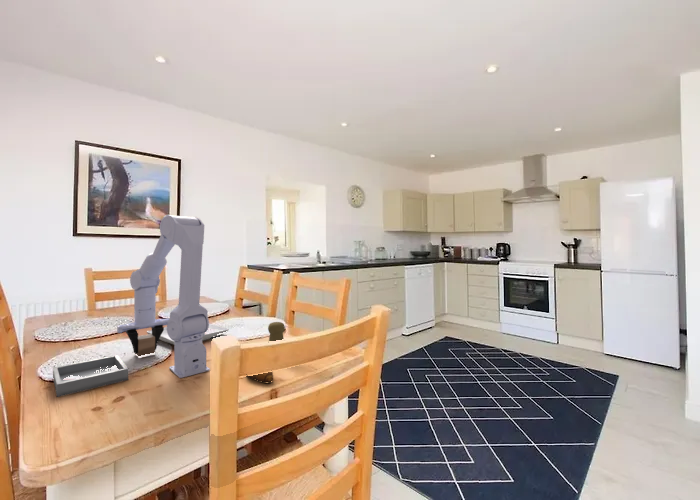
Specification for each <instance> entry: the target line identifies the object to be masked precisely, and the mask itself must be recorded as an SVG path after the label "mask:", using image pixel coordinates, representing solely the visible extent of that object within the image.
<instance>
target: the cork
mask: <svg viewBox="0 0 700 500" xmlns="http://www.w3.org/2000/svg"><path fill="white" fill-rule="evenodd" d="M285 329H286V327H285V323H283V322H281V321H273V322H270V323H269V325H268V326H267V330H268V333H269V337H268V342H269V341H276V340H282V339H284V332H285ZM284 340H285V339H284Z"/></svg>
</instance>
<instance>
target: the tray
mask: <svg viewBox="0 0 700 500" xmlns="http://www.w3.org/2000/svg"><path fill="white" fill-rule="evenodd" d="M114 365H116V366H117V368H118V369H119V370H115V371H111V369H110V371H109V369H108V372H107V371H105V369H107V368H111V367H112V366H114ZM107 366H108V367H107ZM100 367H101V368H100ZM106 367H107V368H106ZM100 369H102V370H103V369H104V370H103V371H102V370H101V373H100ZM96 370H99V373H98V371H97V373H96ZM94 372H95V373H94ZM70 375H73V376H78V375H79V376H80V377H81V376H82V377H83V378H79V379H74V380H63V379H64V378H66V377H68V376H69V377H70ZM85 376H86V377H85ZM53 378H54V381H53V386H54V389H55V395H56V398H59V397H60V398H61V397H63V396H68V395H72V394H76V393H80V392H84V391H88V390H92V389H97V388H100V387H105V386H109V385H114V384H117V383H120V382H121V383H122V382H125V381H129V368H128V366H127V365H126V364H125V362H124V361H123V360H122V359H121V358H120V356H119V355H118V354H116V355H112V356H111V355H109V356H107V357H100V358H95V359H90V360H85V361H79V362H74V363H70V364H64V365H59V366H54V367H52V379H53Z"/></svg>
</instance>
